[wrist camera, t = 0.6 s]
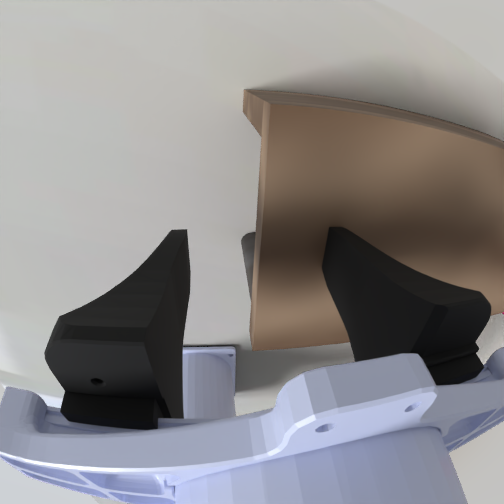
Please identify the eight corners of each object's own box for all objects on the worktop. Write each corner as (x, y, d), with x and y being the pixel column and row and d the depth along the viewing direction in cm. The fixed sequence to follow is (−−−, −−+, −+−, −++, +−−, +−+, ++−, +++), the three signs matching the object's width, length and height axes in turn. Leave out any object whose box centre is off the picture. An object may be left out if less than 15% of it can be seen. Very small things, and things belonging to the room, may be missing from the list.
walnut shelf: (455, 246, 27) (513, 309, 19) (237, 250, 24) (252, 350, 16) (486, 134, 21) (568, 176, 12) (243, 89, 18) (270, 104, 10)
